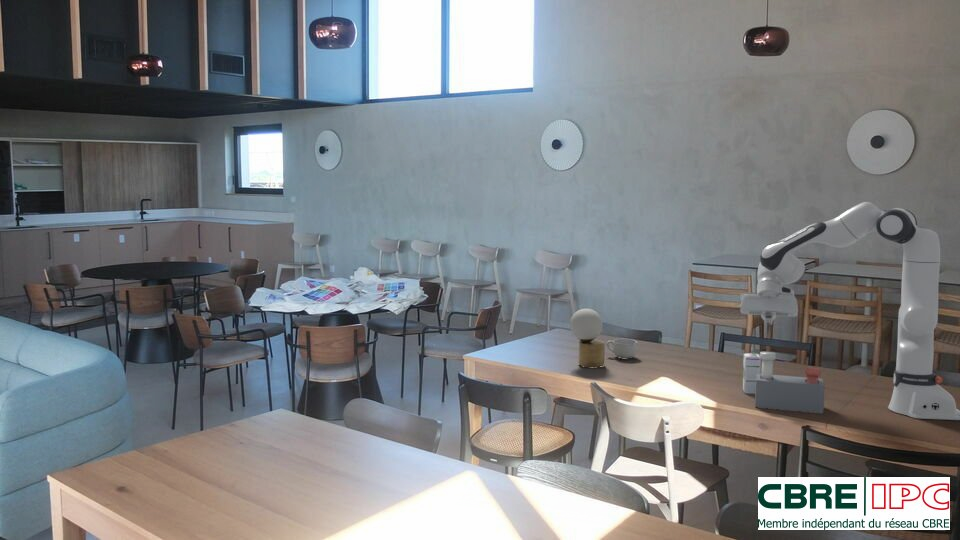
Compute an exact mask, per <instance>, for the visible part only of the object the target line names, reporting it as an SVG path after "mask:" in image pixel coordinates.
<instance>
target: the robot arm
mask: <svg viewBox="0 0 960 540" xmlns="http://www.w3.org/2000/svg"><path fill="white" fill-rule="evenodd" d="M917 220H918V219H917V218H916V216H915V214H913V212H911V211H910V210H908V209H906V208H899V207H895V208H891V209H887V210H886V209H885V210H881V209H879V207H878V206H877V205H876V204H874V203H872V202H869V201H863V202H861V203H859V204H857V205H856V204H855V205H854V206H852V207H850V208H849V209H847V210H846V211H844V212H842V213H841V214H839V215H838V216H836V217H834V218H832V219H830V220H827V221H826V220H825V221H817V222H814V223H812V224H809V225H807V226H806V227H803V228H801V229H800V230H798V231H795V232H794V233H792V234H790V235H789V236H786V237H785V238H782V239H780V240H777V241H775V242H773V243H770V244H767V245H766V246H765V247H764V248H762V250H761V252H760V258H759V260H760V261H759V264H758V266H757V267H758V268H757V273H756V274H757V275H756V277H757V278H756V279H757V285H756V292H747V291H746V292H743V293H741V294H740V295H739V301H740V307H739V309H740V310H739V311H740V313H741V314H742V315H753V316H754V315H755V316H761V317H760V318H761V319H762V321H763V324H764V325H773V321H774V320H775V319H776V318H777V317H786V318H787V317H789V318H796V317H797V316H798V313H799V306H798V305H799V304H798V300H797V298H796V296H795V290H794V289H792V288H790V287H787V286H788V285H793V284H795V283H798V282H800V281H801V280H802V279H803V278H804V275H805V273H806V265H805V263H804V262H803V261H801V260H800V259H799V258H798V257H797V256H795V255H794V254H793V253H792V252H795V251H796V250H799V249H800V248H802V247H804V246H806V245H809V244H812V243H816V244H817V243H819V244H823V245H827V246H829V247H833V248H837V249H838V248H847V247H850V246H852V245H855V243H858V241H860V240H861V239H862V238H864V237H865V236H867V235H868V234H870V233H873V232H874V233H875V232H877V233H878V235H880V237H882V238H883V239H884V240H888V241H891V242H894V243H897V244H899V245H902V249H903V254H902V255H903V256H902V272H901V293H900V294H901V295H900V307H899V309H898V318H897V320H898V321H897V342H896V343H897V346H896V347H897V348H896V361H895V362H896V364H895V365H896V366H895V369H894V371H893V385H894V386H893V391H892V395H891V398H890V402H889V405H888V406H887V408H888V410H890V411H892V412H894V413H897V414H900V415H905V416H908V417H909V418H910V417H911V418H913V419H926V420H949V421H960V409H957V404H956V400H955V397H954V396H952V394H950V392H948V391H947V390H946V389H945V388H943V387H942V386H941V385H939V384H941V383H943V381H944V380H943V378H942V377H941V376H939V375H938V374H936V373H934V372H933V367H934V354H935V346H934V345H935V344H934V340H935V339H934V338H935V337H934V335H935V329H936V328H937V325H938V322H939V317H938V316H939V284H940V283H939V280H940V268H941V267H940V266H941V244H940V238H939V234H938V233H937V232H936V231H934V230H932V229H929V228H922V227H918V226H917V225H918V223H917ZM766 316H771V317H766Z"/></svg>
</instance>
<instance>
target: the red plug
mask: <svg viewBox="0 0 960 540" xmlns="http://www.w3.org/2000/svg"><path fill="white" fill-rule="evenodd" d="M821 374H822V369H821V368H820V367H817V366H816V367H815V366H805V367H804V375H806V377H807V382H809V383H818V378H819V376H821Z"/></svg>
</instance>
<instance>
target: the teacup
mask: <svg viewBox="0 0 960 540" xmlns="http://www.w3.org/2000/svg"><path fill="white" fill-rule="evenodd" d="M610 343H611V345H612V347H613V348H611V346H610V345H609V344H610ZM605 347H606V348H607V349H608V350H609V351H611V353H613V354H614V355H615V356H616V358H618V357H621V358H631V359H632V357H633V358H634V357H635V356H636V354H637V350H638V340H635V339H632V338H623V337H621V338H616V339H613V340H612V339H610V340H607V341H606V343H605Z"/></svg>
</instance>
